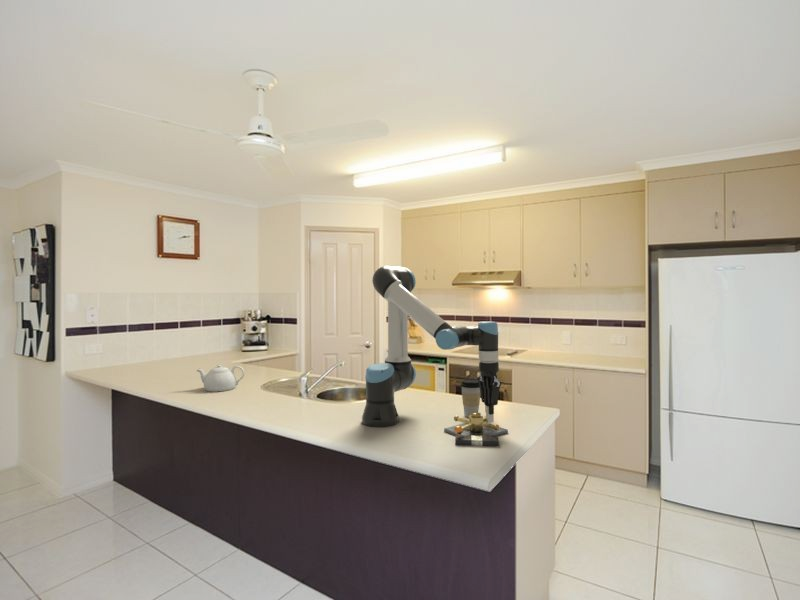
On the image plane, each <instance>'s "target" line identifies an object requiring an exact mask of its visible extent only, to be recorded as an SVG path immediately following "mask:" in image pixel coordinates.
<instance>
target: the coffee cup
mask: <svg viewBox="0 0 800 600" xmlns="http://www.w3.org/2000/svg"><path fill="white" fill-rule="evenodd" d="M459 386H460V387H461V397H462V405H463V406H462V407H463V413H464V414H463V415H464V416H465V417H467V418H469V416H470V415H471V413H472V412H478V413H479V411H480V410H479V409H480V408H479V407H480V404H481V403H480V402H481V394H480V387H479V382H478V379H473V378H471V379H470V378H469V379H468V378H467V379H466V378H465V379H462V380H461V382H460V385H459Z"/></svg>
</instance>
